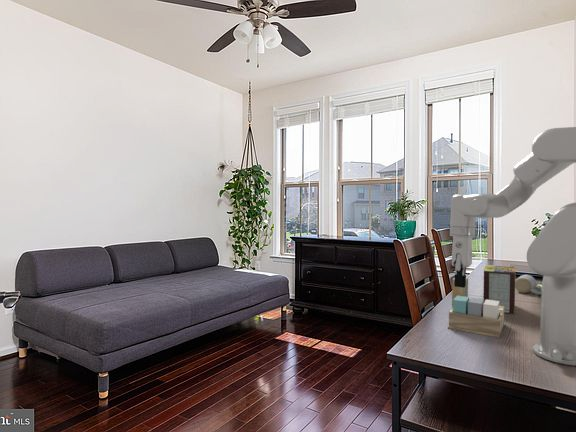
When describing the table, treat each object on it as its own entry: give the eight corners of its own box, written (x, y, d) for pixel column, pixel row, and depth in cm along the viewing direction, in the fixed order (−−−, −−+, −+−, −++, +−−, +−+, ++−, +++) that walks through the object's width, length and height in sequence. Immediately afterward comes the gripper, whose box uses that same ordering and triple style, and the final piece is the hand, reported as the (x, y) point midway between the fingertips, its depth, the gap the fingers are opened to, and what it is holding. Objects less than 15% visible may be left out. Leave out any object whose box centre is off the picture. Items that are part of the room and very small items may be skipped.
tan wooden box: (499, 337, 110) (500, 317, 110) (447, 328, 118) (448, 309, 118) (503, 323, 123) (504, 305, 123) (456, 316, 132) (457, 298, 131)
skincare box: (456, 306, 144) (456, 276, 144) (468, 308, 141) (468, 277, 141) (451, 310, 139) (452, 278, 139) (463, 312, 136) (464, 280, 136)
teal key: (465, 316, 118) (465, 301, 117) (452, 314, 120) (453, 299, 120) (469, 311, 123) (469, 297, 123) (456, 309, 125) (457, 295, 125)
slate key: (480, 319, 115) (481, 303, 115) (467, 317, 117) (467, 301, 117) (483, 314, 121) (484, 299, 121) (470, 312, 123) (471, 297, 123)
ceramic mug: (513, 292, 170) (513, 275, 170) (517, 289, 176) (518, 273, 175) (540, 296, 162) (541, 279, 162) (544, 293, 168) (545, 277, 168)
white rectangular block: (496, 322, 113) (497, 306, 112) (483, 319, 115) (483, 304, 115) (499, 316, 118) (499, 301, 118) (485, 314, 120) (486, 299, 120)
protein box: (513, 305, 147) (514, 266, 147) (514, 314, 134) (515, 272, 134) (484, 301, 153) (485, 264, 152) (482, 310, 139) (483, 270, 139)
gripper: (471, 234, 113) (468, 293, 114) (478, 231, 125) (475, 284, 126) (445, 232, 117) (443, 289, 118) (454, 229, 129) (452, 281, 130)
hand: (459, 286), depth 122 cm, fingers closed
